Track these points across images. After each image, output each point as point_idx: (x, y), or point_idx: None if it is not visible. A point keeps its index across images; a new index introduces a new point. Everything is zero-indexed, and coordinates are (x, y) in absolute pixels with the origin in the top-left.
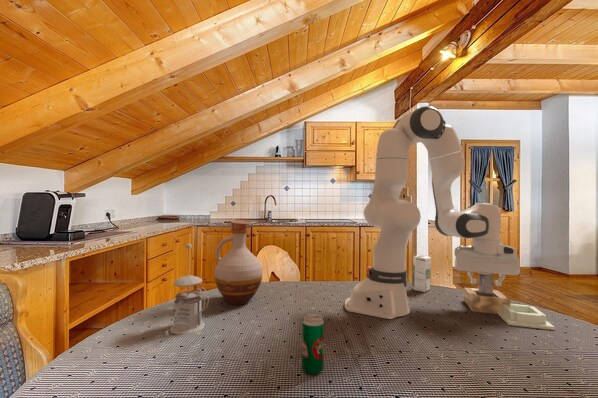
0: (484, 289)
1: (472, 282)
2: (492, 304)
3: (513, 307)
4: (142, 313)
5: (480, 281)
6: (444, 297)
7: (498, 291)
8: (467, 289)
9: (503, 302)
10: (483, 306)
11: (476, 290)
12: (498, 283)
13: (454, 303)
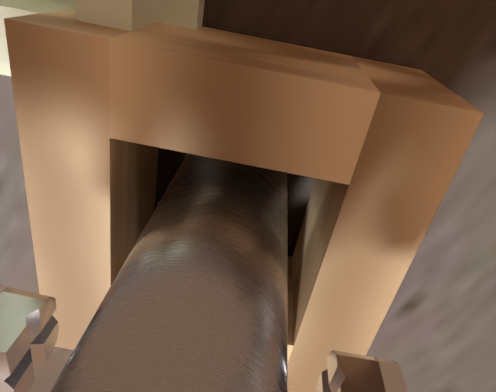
0: (252, 249)
1: (401, 378)
2: (235, 50)
3: (22, 4)
4: None
5: (283, 379)
6: (447, 349)
7: None
8: None
9: (105, 28)
10: (330, 60)
11: None
12: (1, 319)
13: (456, 244)
